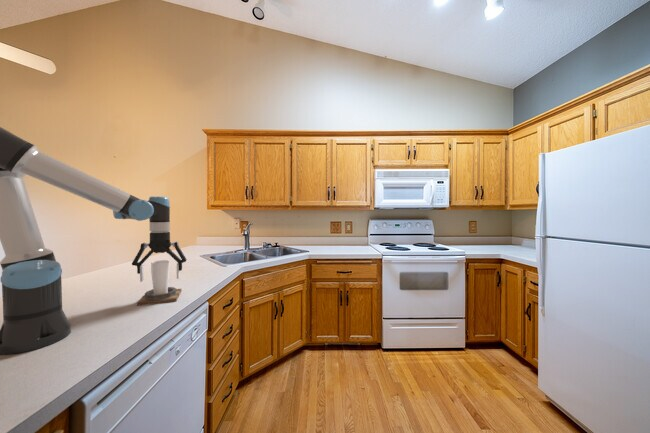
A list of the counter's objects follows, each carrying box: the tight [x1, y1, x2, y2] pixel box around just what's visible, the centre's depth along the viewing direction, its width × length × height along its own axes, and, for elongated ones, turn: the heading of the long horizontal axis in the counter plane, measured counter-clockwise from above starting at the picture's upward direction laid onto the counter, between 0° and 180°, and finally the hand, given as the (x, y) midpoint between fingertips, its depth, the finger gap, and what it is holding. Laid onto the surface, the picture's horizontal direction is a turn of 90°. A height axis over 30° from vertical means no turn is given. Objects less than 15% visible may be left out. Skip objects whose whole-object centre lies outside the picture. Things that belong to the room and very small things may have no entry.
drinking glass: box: [150, 259, 170, 295], centre depth 112 cm, size 7×7×15 cm
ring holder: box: [136, 286, 182, 307], centre depth 112 cm, size 14×14×3 cm
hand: (160, 279), depth 112 cm, fingers open, 13 cm apart
